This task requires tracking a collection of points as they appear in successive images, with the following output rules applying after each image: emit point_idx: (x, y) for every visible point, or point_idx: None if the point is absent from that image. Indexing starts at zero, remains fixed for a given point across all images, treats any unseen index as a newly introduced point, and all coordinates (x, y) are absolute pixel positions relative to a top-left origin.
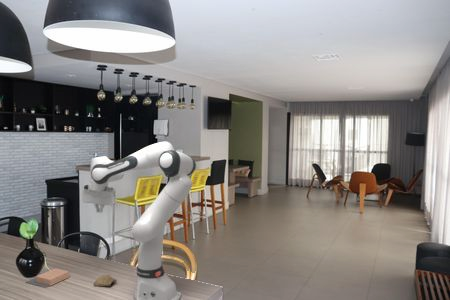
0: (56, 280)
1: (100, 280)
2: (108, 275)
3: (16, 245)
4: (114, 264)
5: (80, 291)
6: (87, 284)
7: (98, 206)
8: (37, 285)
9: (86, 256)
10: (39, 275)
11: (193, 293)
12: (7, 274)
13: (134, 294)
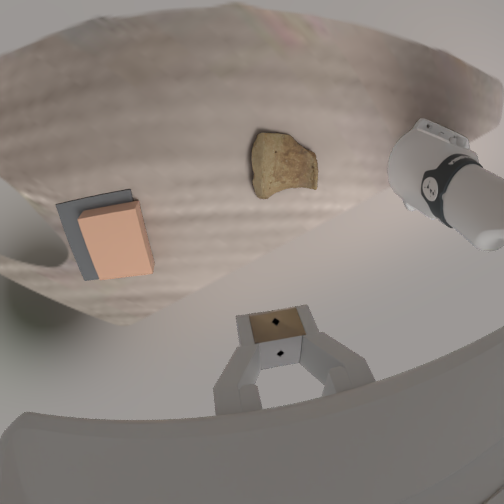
0: (148, 249)
1: (273, 185)
2: (268, 143)
3: None
4: (174, 28)
5: (253, 237)
6: (232, 199)
7: (247, 370)
8: None
9: (22, 55)
10: (99, 272)
11: (481, 126)
12: (13, 276)
13: (392, 186)
